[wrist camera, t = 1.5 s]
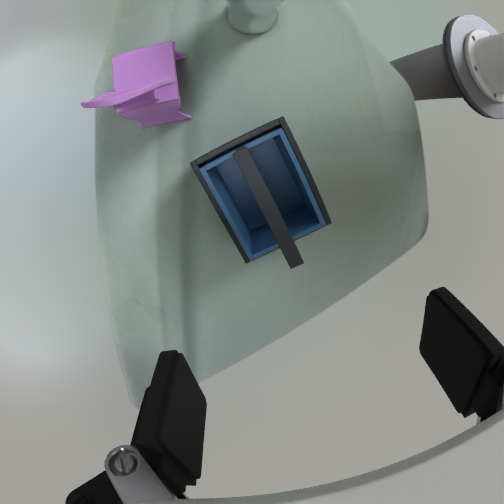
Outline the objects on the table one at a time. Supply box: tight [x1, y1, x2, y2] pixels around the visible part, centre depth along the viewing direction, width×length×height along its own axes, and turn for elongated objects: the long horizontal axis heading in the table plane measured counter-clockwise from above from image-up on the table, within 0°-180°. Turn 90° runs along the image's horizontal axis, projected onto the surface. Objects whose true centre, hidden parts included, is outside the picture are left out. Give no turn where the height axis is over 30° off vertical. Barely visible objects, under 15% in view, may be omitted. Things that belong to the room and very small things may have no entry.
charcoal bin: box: [190, 117, 332, 263], centre depth 32 cm, size 10×12×7 cm
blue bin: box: [199, 128, 326, 269], centre depth 29 cm, size 8×10×13 cm
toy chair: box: [81, 41, 192, 128], centre depth 23 cm, size 8×9×15 cm
